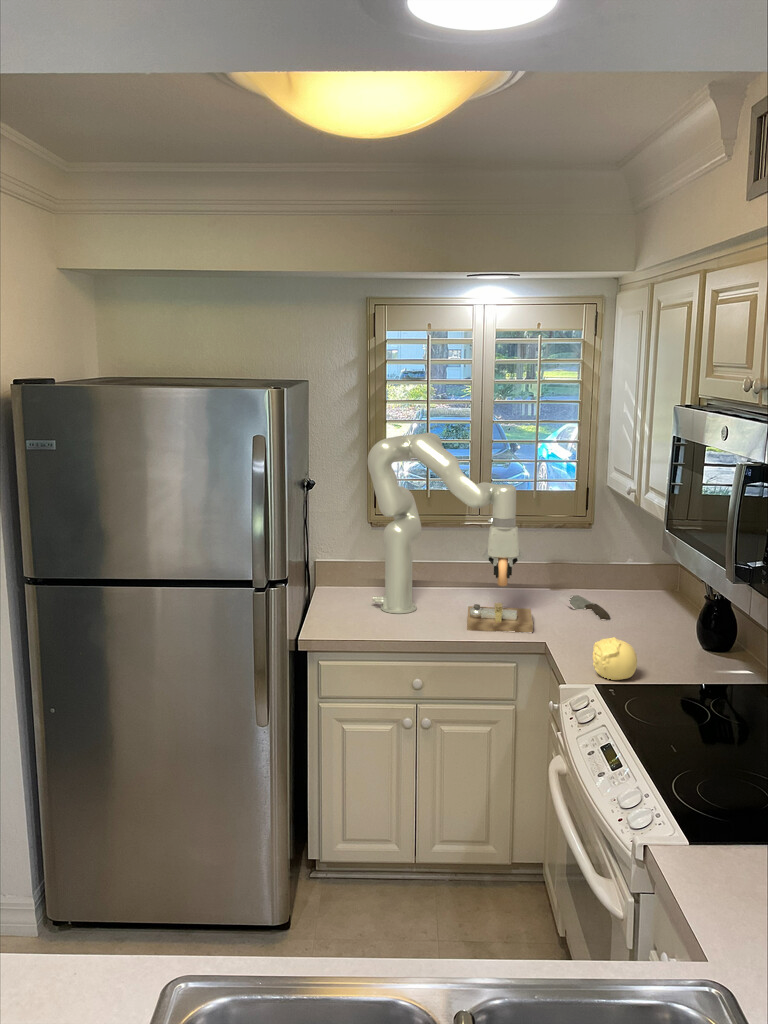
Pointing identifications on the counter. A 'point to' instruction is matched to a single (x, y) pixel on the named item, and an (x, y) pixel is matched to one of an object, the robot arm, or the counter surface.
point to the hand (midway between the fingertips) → (502, 576)
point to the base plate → (489, 624)
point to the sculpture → (614, 659)
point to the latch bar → (492, 613)
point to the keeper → (498, 612)
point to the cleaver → (588, 606)
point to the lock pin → (502, 571)
